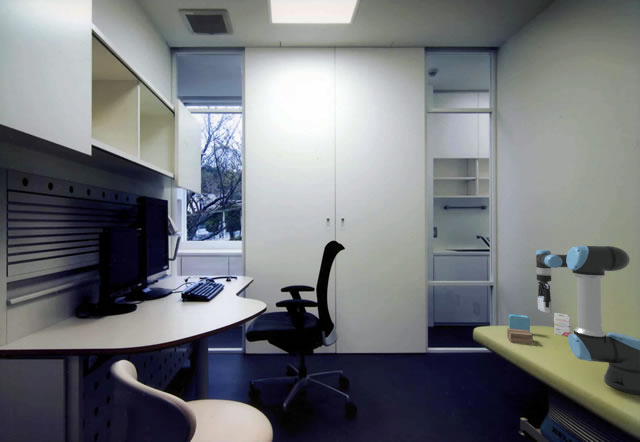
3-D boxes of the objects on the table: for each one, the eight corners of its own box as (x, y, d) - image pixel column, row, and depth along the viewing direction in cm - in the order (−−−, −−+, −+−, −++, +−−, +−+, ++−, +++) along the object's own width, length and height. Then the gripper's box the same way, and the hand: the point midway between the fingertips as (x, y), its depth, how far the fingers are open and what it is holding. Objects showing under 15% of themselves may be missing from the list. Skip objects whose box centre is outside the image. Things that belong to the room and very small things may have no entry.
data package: (529, 333, 214) (529, 316, 214) (530, 335, 210) (529, 317, 210) (509, 330, 220) (508, 313, 220) (509, 332, 216) (509, 315, 216)
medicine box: (551, 313, 188) (551, 298, 189) (543, 312, 189) (543, 298, 190) (545, 309, 196) (545, 296, 196) (537, 309, 197) (537, 295, 197)
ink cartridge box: (571, 335, 209) (570, 313, 210) (569, 337, 206) (569, 315, 206) (555, 332, 216) (555, 311, 216) (554, 333, 212) (553, 312, 213)
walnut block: (532, 344, 192) (532, 335, 192) (510, 342, 196) (510, 333, 197) (528, 339, 202) (527, 330, 202) (507, 337, 206) (507, 328, 206)
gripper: (531, 271, 204) (532, 306, 204) (542, 276, 185) (542, 314, 184) (545, 272, 202) (546, 307, 201) (557, 277, 182) (557, 315, 181)
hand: (544, 310), depth 193 cm, fingers closed on medicine box, 8 cm apart
